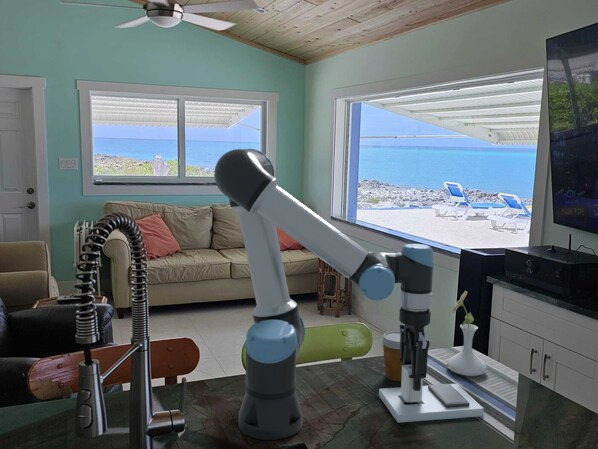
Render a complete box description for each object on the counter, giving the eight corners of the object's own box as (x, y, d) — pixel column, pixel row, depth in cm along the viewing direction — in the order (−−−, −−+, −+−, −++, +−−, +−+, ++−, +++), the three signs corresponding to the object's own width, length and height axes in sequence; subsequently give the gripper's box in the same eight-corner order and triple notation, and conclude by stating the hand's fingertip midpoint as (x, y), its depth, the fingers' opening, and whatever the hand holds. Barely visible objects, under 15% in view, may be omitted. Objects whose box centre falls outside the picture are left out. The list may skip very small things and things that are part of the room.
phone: (446, 407, 130) (446, 404, 130) (428, 388, 141) (428, 384, 141) (469, 406, 131) (469, 402, 131) (449, 386, 142) (449, 383, 142)
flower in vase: (458, 360, 165) (463, 282, 161) (493, 372, 157) (499, 289, 153) (435, 372, 156) (440, 289, 153) (471, 385, 148) (476, 297, 144)
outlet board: (397, 422, 127) (398, 414, 126) (378, 395, 140) (379, 388, 140) (483, 416, 131) (483, 408, 130) (456, 390, 144) (457, 383, 144)
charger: (406, 402, 132) (408, 370, 131) (400, 395, 136) (402, 364, 135) (421, 401, 133) (423, 369, 132) (415, 393, 137) (417, 363, 135)
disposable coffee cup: (416, 384, 148) (418, 342, 146) (382, 383, 148) (383, 341, 146) (410, 370, 157) (412, 331, 156) (377, 369, 157) (379, 330, 156)
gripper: (444, 317, 123) (439, 412, 127) (416, 297, 140) (412, 381, 143) (414, 318, 122) (409, 414, 125) (388, 298, 139) (385, 383, 142)
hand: (411, 396), depth 134 cm, fingers closed on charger, 4 cm apart
